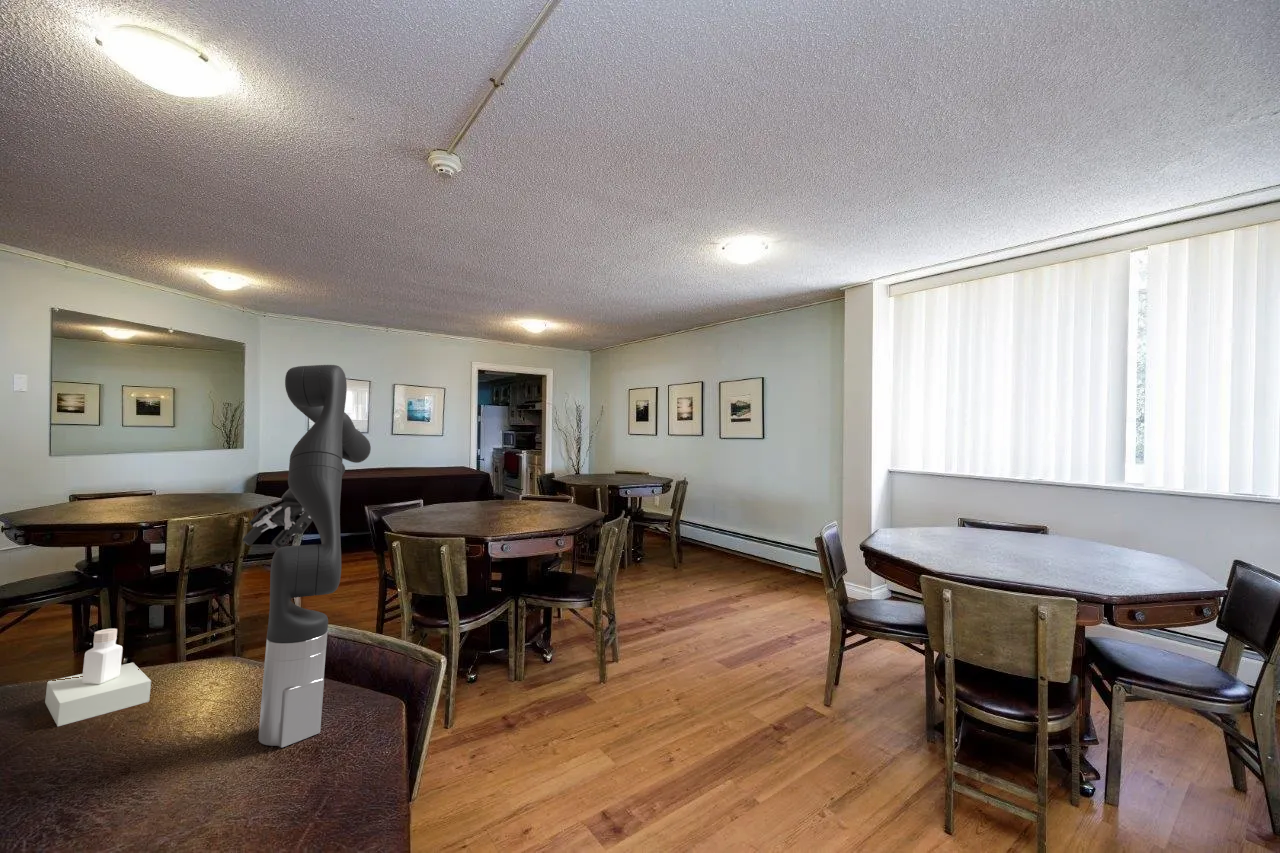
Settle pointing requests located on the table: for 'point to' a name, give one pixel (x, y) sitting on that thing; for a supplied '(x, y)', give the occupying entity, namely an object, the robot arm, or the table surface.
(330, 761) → the table surface
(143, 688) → the platform
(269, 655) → the robot arm
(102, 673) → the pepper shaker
